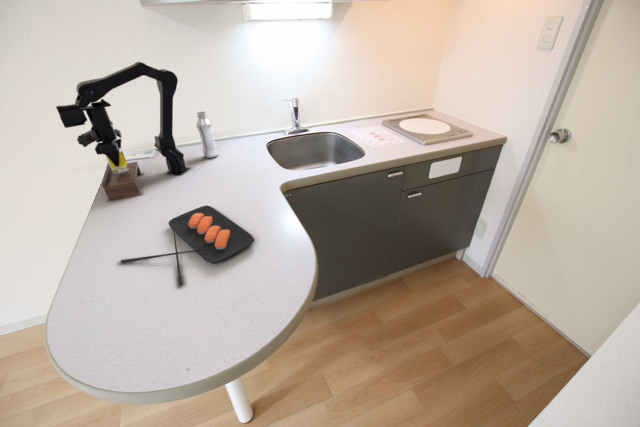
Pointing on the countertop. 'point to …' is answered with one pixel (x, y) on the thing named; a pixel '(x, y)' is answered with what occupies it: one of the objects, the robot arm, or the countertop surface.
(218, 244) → the sushi plate
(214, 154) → the plastic bottle
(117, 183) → the shelf
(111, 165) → the supplement bottle
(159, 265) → the countertop surface
